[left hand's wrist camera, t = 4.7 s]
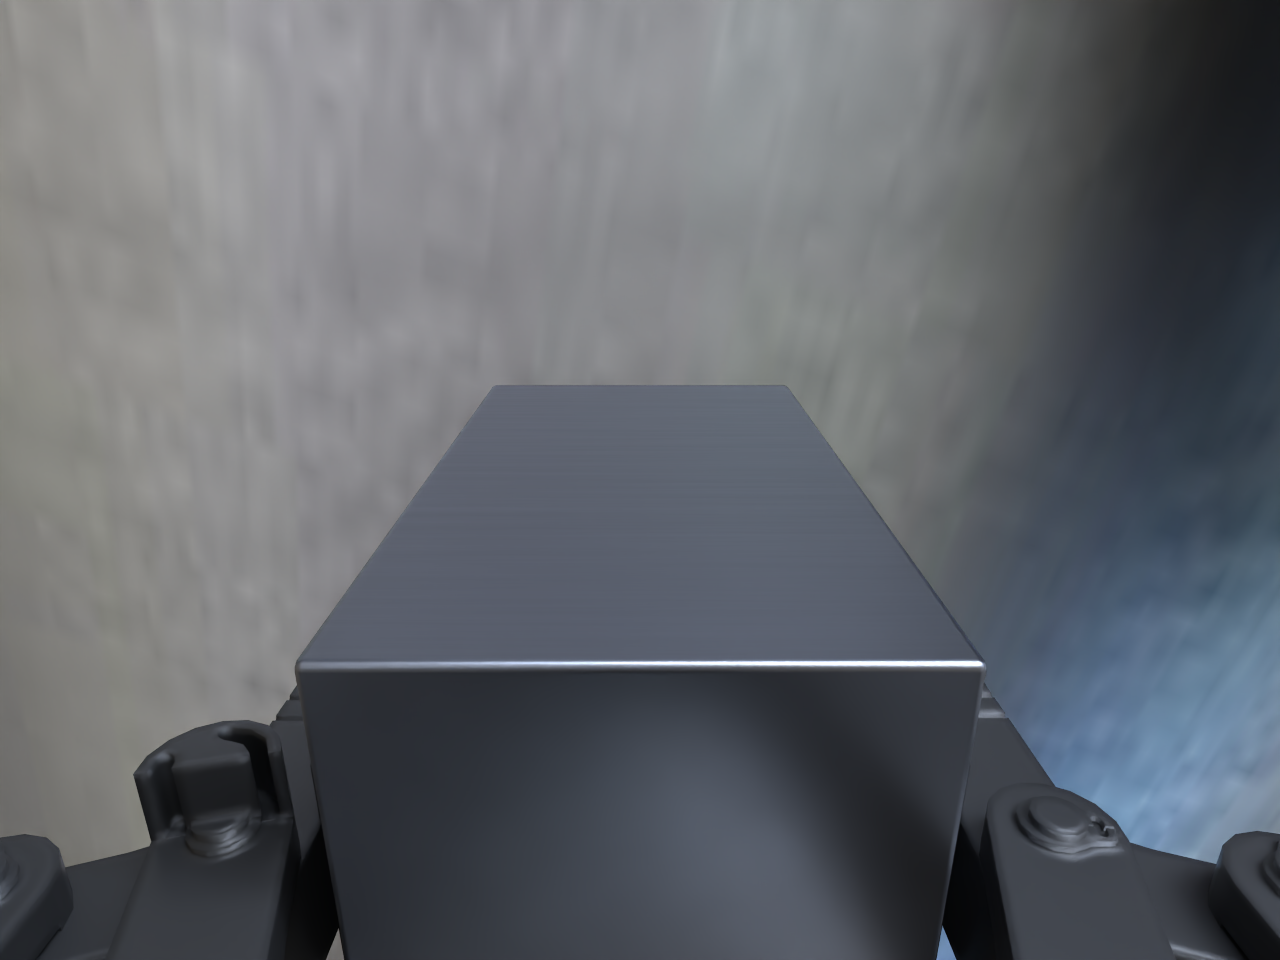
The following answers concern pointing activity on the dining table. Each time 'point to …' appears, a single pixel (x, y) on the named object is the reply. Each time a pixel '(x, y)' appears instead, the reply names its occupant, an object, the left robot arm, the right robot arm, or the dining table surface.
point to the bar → (640, 697)
